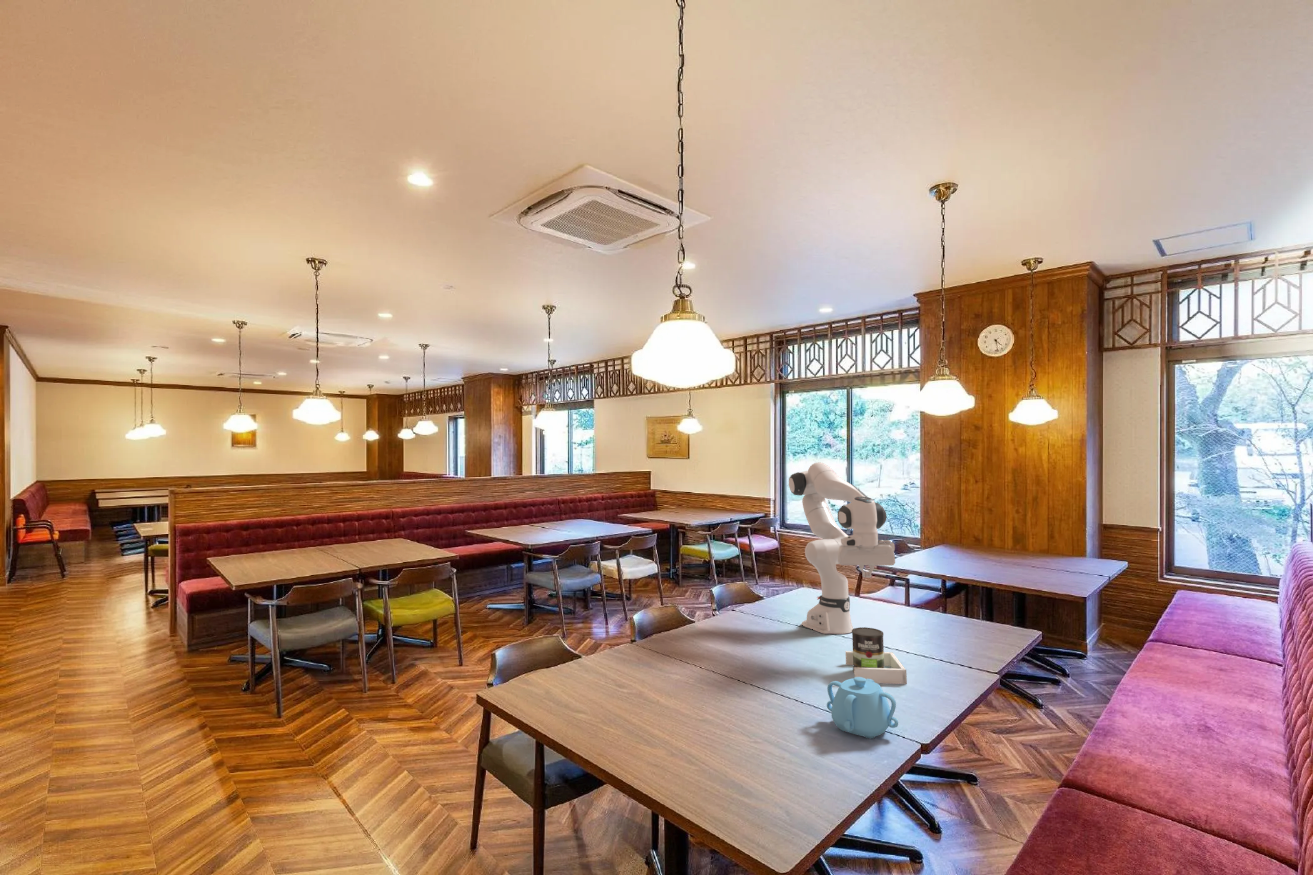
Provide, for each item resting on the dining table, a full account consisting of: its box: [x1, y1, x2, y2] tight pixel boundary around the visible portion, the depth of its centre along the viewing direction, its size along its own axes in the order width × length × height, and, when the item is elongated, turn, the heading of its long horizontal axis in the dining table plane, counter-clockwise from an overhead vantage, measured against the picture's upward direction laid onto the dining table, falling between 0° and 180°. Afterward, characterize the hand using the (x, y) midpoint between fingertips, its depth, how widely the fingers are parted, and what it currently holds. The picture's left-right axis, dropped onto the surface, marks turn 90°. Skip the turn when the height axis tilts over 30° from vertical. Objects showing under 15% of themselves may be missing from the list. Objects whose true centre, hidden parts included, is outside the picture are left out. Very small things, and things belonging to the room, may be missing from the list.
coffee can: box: [851, 626, 885, 673], centre depth 197 cm, size 10×10×14 cm
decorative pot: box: [826, 677, 899, 739], centre depth 157 cm, size 16×16×14 cm
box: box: [845, 650, 908, 685], centre depth 196 cm, size 16×17×4 cm
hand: (866, 577), depth 215 cm, fingers closed
